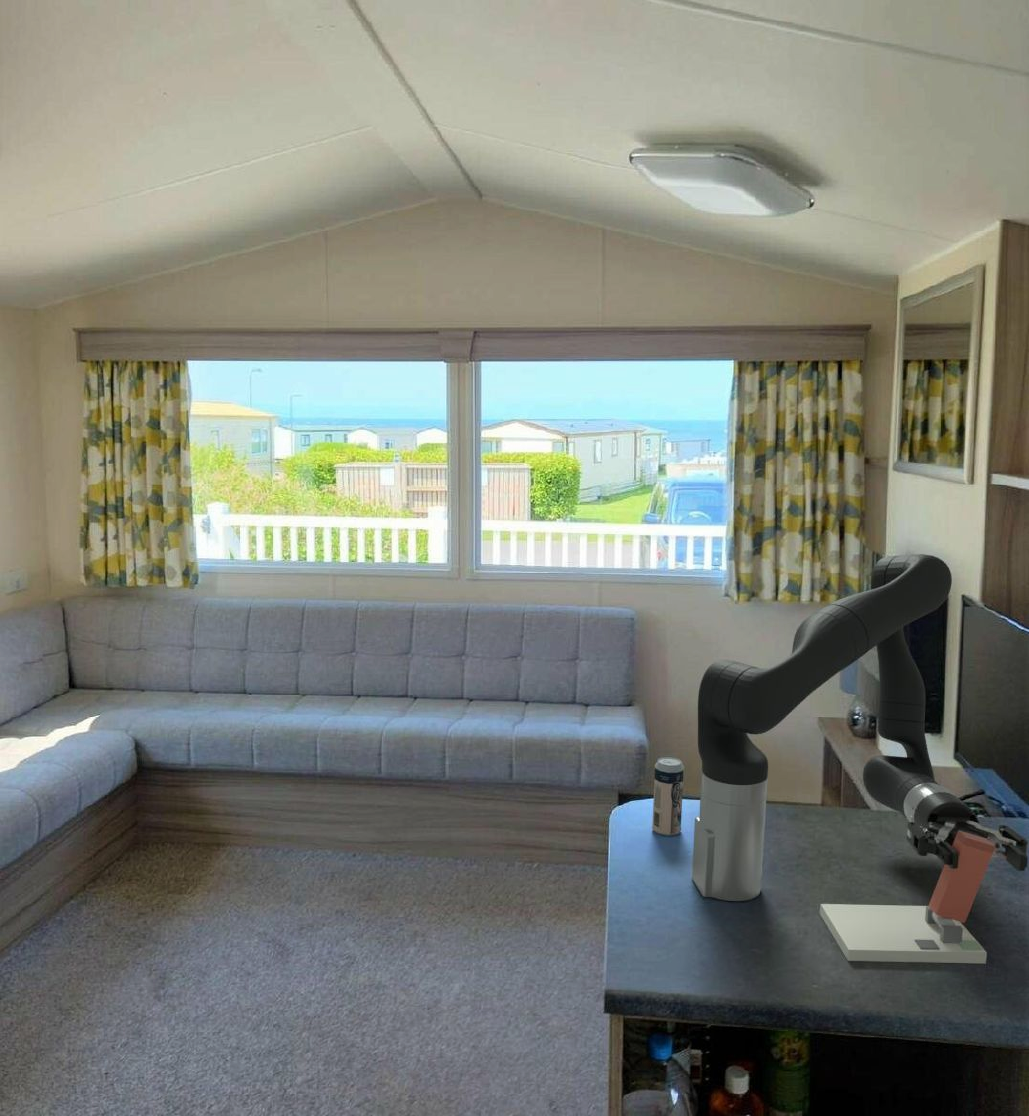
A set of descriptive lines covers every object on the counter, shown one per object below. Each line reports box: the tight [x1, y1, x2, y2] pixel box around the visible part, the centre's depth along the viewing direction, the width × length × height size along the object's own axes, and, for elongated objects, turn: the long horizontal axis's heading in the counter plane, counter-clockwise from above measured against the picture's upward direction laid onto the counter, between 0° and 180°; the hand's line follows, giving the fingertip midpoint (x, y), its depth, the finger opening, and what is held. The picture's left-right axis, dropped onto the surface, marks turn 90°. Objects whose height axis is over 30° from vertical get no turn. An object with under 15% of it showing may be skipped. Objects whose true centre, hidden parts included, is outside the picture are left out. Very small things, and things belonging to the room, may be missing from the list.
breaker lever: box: [928, 830, 996, 928], centre depth 133 cm, size 4×3×13 cm
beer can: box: [651, 756, 685, 837], centre depth 167 cm, size 5×5×12 cm
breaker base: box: [819, 903, 988, 965], centre depth 135 cm, size 18×12×4 cm
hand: (989, 862), depth 131 cm, fingers open, 8 cm apart
